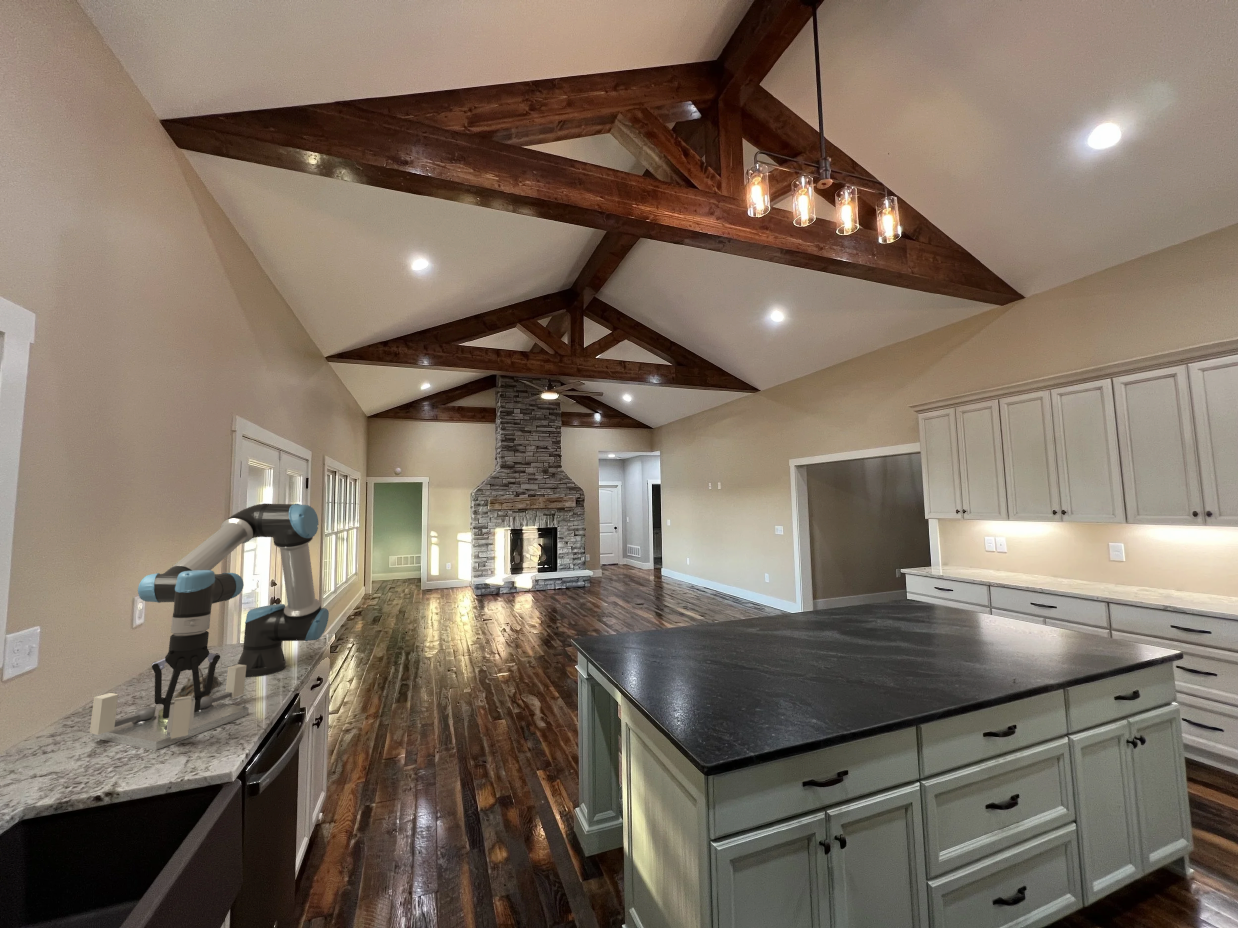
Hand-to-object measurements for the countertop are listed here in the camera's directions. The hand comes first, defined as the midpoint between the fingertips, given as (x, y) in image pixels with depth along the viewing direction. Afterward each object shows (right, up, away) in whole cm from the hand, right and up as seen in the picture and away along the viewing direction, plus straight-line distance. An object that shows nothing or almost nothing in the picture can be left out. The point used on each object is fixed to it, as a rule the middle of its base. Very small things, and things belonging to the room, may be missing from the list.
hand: (179, 728), depth 124 cm
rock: (-25, -8, +35) cm, 44 cm away
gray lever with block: (-8, -4, +22) cm, 24 cm away
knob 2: (-3, -2, +3) cm, 5 cm away
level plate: (-11, -5, +11) cm, 17 cm away
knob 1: (-19, -2, +5) cm, 20 cm away
